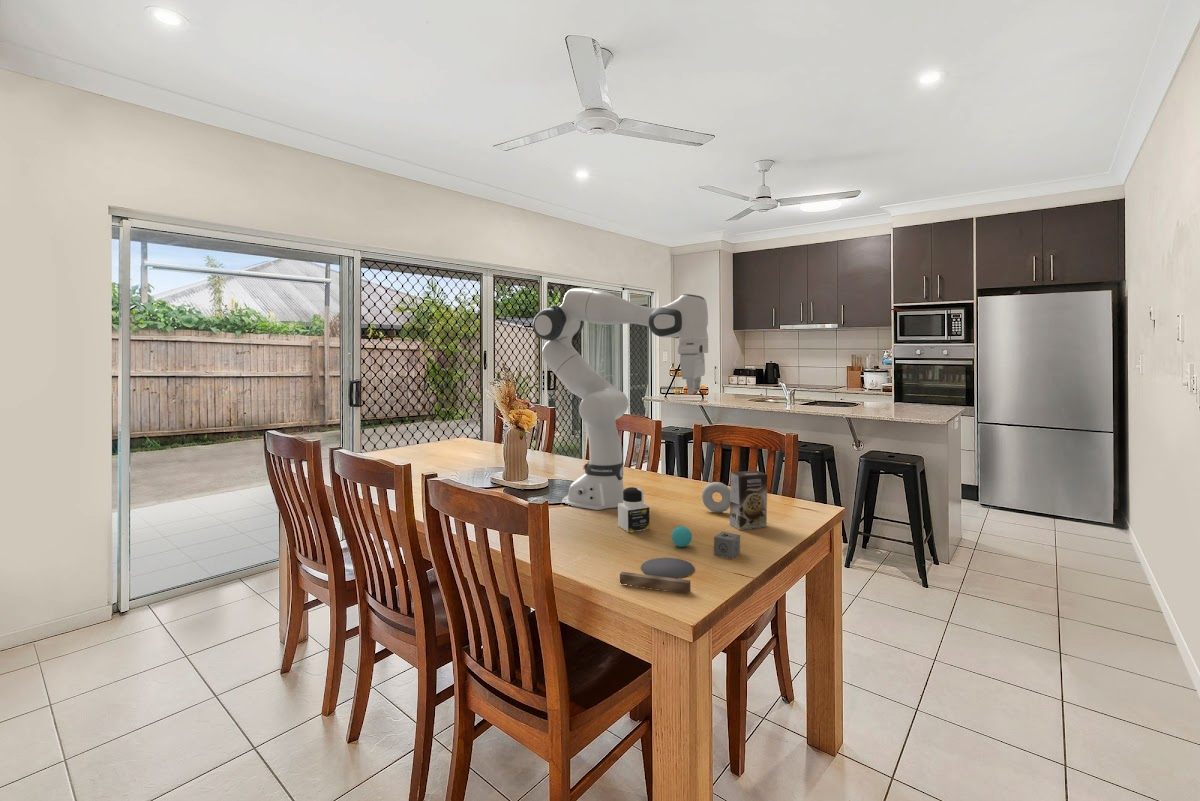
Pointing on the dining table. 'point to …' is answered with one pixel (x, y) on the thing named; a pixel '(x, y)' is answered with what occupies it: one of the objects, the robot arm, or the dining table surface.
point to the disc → (667, 567)
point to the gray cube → (727, 545)
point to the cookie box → (748, 500)
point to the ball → (681, 536)
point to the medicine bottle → (633, 511)
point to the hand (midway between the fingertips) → (694, 392)
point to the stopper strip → (655, 582)
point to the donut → (708, 499)
